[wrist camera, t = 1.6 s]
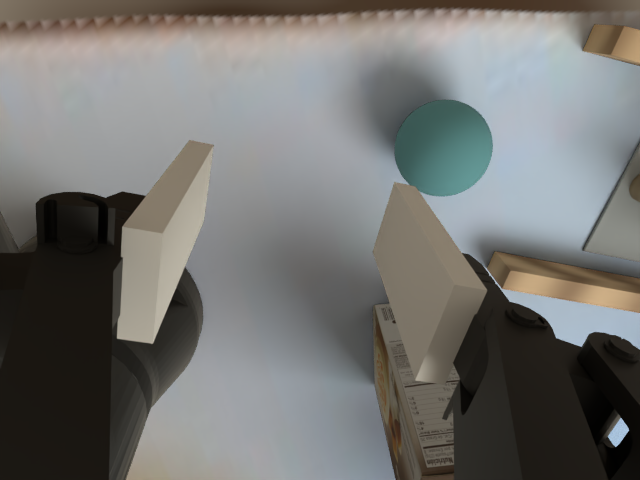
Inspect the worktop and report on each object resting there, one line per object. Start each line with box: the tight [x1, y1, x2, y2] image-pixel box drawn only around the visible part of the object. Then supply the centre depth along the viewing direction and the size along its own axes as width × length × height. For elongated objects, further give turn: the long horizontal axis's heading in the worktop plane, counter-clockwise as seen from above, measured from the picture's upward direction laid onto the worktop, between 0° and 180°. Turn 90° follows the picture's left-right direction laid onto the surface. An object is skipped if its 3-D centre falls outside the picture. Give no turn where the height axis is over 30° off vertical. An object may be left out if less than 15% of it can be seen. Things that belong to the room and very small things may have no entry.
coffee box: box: [373, 303, 460, 480], centre depth 33 cm, size 9×6×16 cm
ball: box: [395, 100, 493, 196], centre depth 30 cm, size 6×6×6 cm
